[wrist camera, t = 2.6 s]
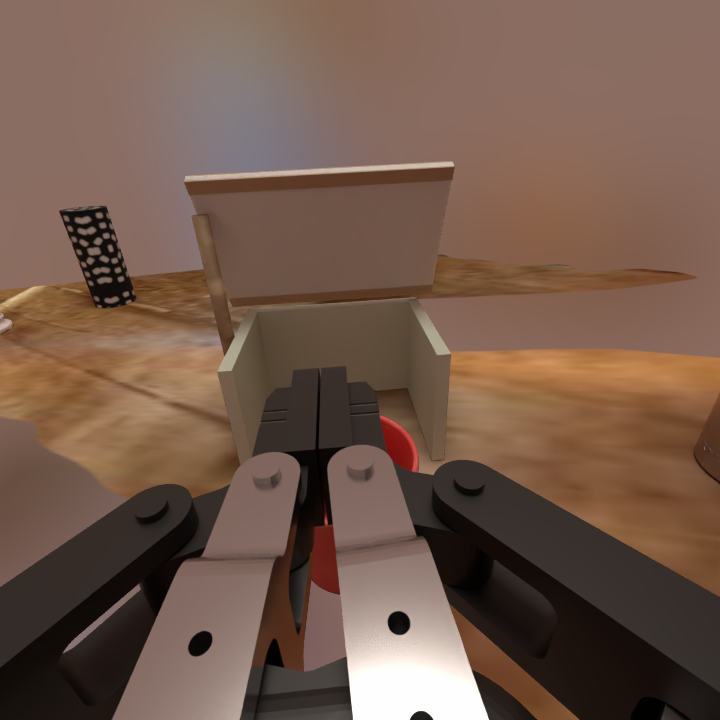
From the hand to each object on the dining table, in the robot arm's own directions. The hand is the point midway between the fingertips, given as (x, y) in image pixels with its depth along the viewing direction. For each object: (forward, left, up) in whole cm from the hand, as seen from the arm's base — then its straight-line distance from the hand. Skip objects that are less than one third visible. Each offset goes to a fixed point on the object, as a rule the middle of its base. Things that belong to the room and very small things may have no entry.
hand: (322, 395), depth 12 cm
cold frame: (0, -28, -22) cm, 35 cm away
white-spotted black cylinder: (+50, -80, -22) cm, 97 cm away
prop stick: (+11, -28, -22) cm, 37 cm away
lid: (0, -31, -2) cm, 31 cm away
